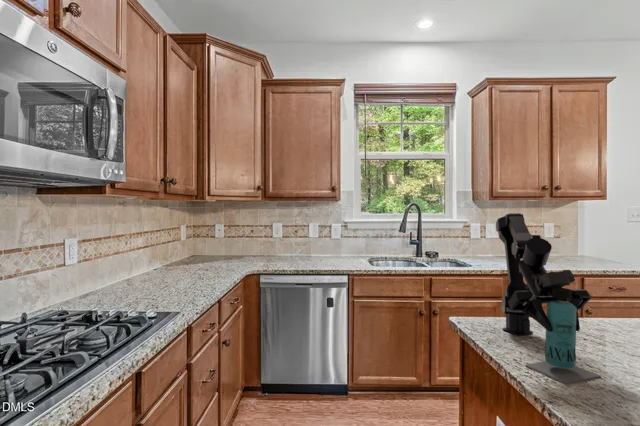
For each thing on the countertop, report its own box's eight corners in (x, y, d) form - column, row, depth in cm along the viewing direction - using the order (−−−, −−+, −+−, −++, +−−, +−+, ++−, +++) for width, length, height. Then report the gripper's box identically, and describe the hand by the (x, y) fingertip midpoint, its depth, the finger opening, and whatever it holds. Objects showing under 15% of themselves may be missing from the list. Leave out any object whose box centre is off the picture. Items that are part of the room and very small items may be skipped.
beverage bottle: (538, 363, 94) (540, 285, 94) (565, 364, 94) (567, 285, 94) (554, 374, 88) (555, 290, 87) (582, 375, 87) (584, 291, 87)
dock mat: (525, 366, 94) (525, 364, 94) (557, 360, 98) (557, 358, 98) (566, 385, 84) (566, 383, 84) (600, 377, 87) (600, 375, 87)
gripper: (513, 259, 94) (540, 314, 83) (585, 258, 95) (622, 312, 84) (498, 284, 102) (521, 337, 91) (565, 282, 103) (596, 335, 92)
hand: (564, 330), depth 89 cm, fingers closed on beverage bottle, 6 cm apart
